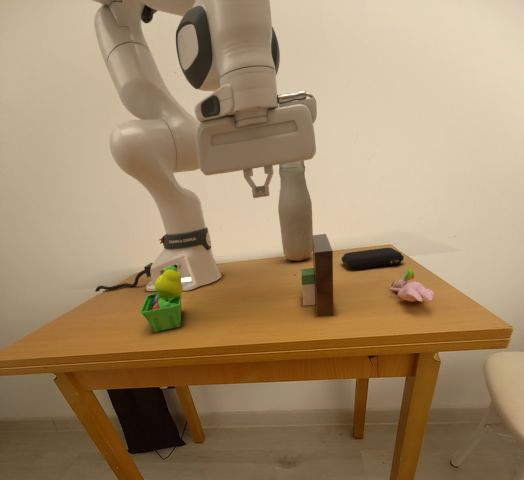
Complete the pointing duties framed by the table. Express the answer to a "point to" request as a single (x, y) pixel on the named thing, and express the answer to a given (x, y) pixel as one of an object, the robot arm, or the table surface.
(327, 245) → the walnut board
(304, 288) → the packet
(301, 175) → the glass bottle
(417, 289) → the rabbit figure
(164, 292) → the fruit basket
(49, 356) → the table surface
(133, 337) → the table surface
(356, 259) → the carrying case
